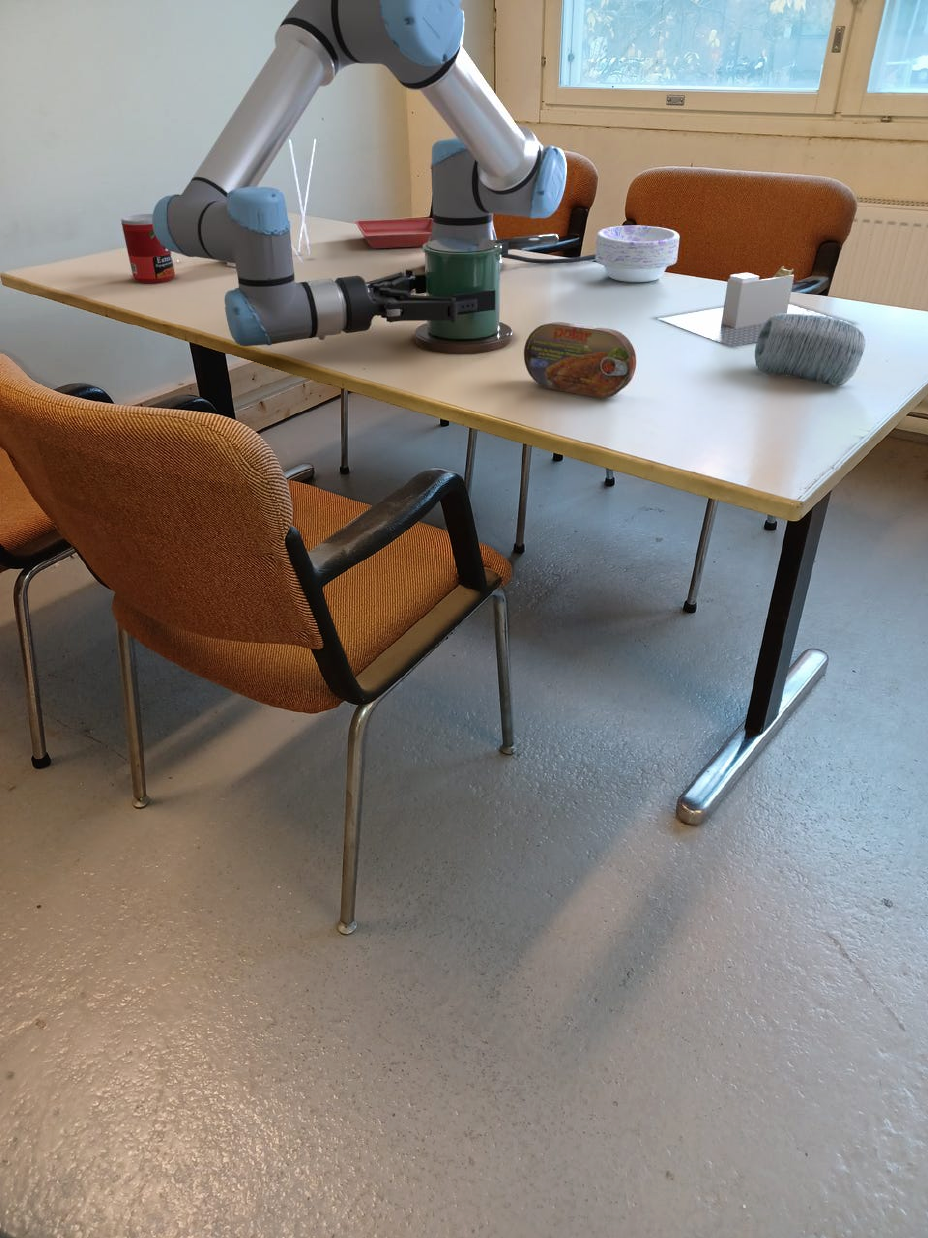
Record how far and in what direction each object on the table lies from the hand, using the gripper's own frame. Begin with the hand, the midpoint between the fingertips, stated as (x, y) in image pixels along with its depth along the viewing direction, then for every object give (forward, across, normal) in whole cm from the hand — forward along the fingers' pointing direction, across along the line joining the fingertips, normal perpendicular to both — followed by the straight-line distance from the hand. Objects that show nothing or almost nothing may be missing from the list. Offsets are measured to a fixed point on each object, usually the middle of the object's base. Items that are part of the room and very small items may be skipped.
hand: (473, 289), depth 132 cm
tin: (+2, +28, -7) cm, 29 cm away
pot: (+3, 0, -6) cm, 6 cm away
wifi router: (-15, -71, -7) cm, 73 cm away
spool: (+31, +37, -7) cm, 49 cm away
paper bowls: (+44, -21, -7) cm, 50 cm away
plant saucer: (+18, -74, -7) cm, 76 cm away
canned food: (-38, -63, -7) cm, 74 cm away
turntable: (-2, 0, -7) cm, 7 cm away
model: (+44, +13, -7) cm, 46 cm away
